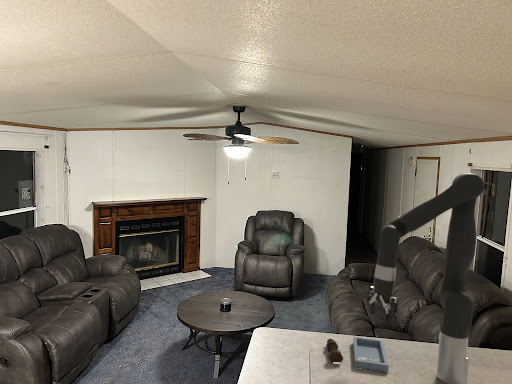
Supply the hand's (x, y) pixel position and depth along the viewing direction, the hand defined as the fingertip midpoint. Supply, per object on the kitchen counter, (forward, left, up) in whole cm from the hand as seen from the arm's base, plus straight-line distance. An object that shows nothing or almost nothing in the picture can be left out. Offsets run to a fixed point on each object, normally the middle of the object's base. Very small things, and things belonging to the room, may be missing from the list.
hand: (379, 318), depth 143 cm
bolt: (+17, -3, -19) cm, 26 cm away
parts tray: (+2, -6, -19) cm, 20 cm away
